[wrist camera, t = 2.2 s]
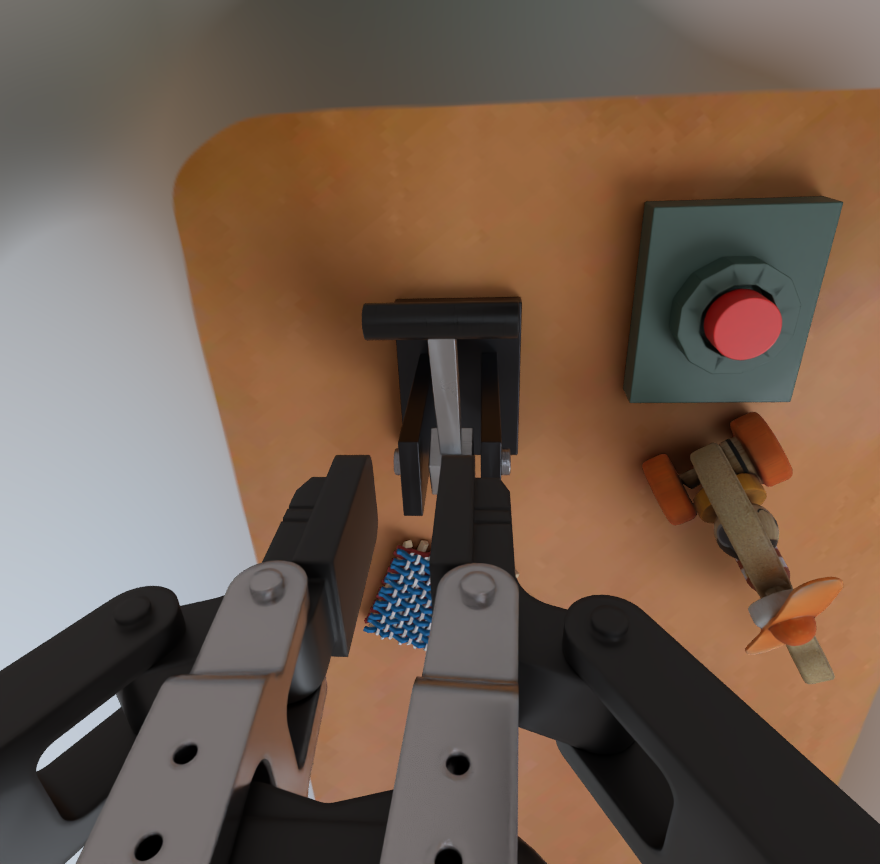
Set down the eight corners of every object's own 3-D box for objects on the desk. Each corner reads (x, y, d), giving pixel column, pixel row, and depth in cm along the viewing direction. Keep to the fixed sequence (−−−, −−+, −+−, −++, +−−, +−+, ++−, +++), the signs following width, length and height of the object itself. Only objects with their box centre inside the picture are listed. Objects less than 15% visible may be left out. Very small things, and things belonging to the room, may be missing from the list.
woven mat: (476, 653, 54) (476, 672, 53) (363, 618, 53) (359, 636, 51) (524, 571, 49) (526, 588, 48) (400, 530, 48) (397, 547, 46)
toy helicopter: (742, 385, 40) (851, 507, 28) (834, 589, 48) (951, 752, 36) (627, 440, 43) (683, 573, 31) (733, 625, 51) (810, 789, 39)
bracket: (395, 298, 39) (360, 379, 28) (521, 296, 39) (536, 378, 27) (406, 446, 44) (380, 564, 33) (516, 446, 44) (528, 566, 33)
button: (709, 288, 34) (719, 298, 32) (775, 287, 34) (789, 296, 32) (698, 349, 36) (707, 361, 34) (761, 348, 35) (774, 360, 34)
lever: (365, 287, 24) (358, 329, 23) (518, 284, 24) (520, 327, 22) (400, 457, 34) (396, 494, 32) (508, 457, 33) (509, 495, 32)
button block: (644, 201, 35) (662, 212, 32) (824, 195, 35) (862, 207, 31) (622, 388, 41) (635, 416, 38) (776, 388, 40) (803, 415, 37)
